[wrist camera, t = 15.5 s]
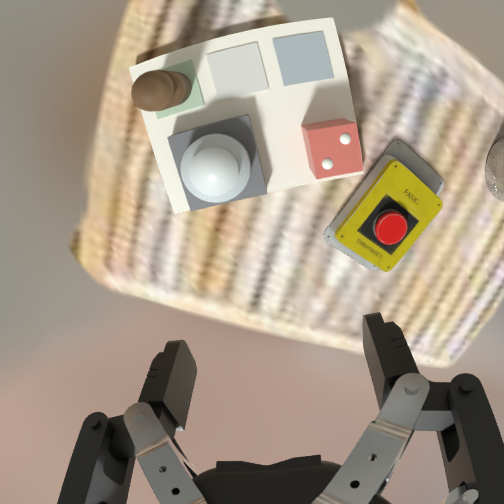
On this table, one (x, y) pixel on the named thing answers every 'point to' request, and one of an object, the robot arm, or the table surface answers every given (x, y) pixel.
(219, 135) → the dome
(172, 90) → the pawn
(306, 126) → the die
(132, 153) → the table surface
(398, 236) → the emergency button
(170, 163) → the board
